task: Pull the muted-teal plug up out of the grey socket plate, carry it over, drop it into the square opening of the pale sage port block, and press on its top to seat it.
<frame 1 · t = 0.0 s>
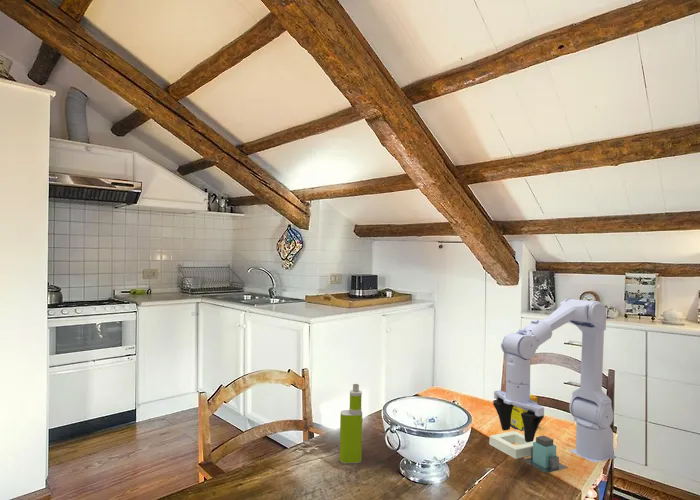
hand: (517, 435, 110), 10 cm above the table, tool pointing down, fingers open, 7 cm apart
plug: (544, 463, 115), point 1 cm above the table, touching grey socket plate
supplement box: (523, 429, 141), on the table
grey socket plate: (544, 465, 115), on the table
port: (515, 450, 124), on the table
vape: (350, 460, 116), on the table
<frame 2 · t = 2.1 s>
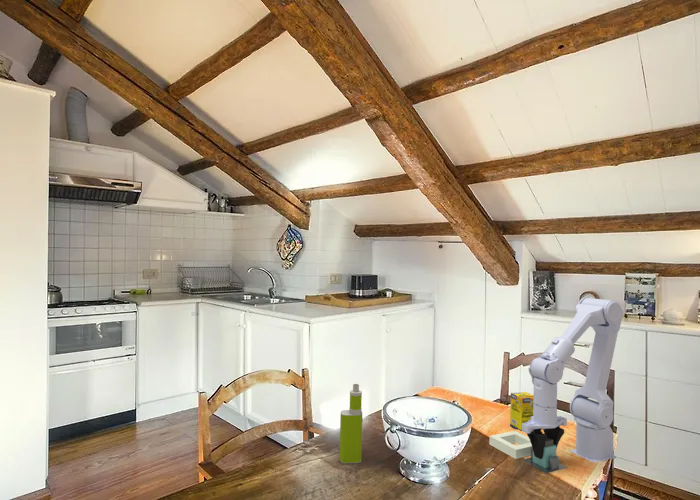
hand: (544, 455, 115), 3 cm above the table, tool pointing down, fingers closed on plug, 4 cm apart
plug: (544, 463, 115), point 1 cm above the table, touching gripper, grey socket plate
everything else where it was.
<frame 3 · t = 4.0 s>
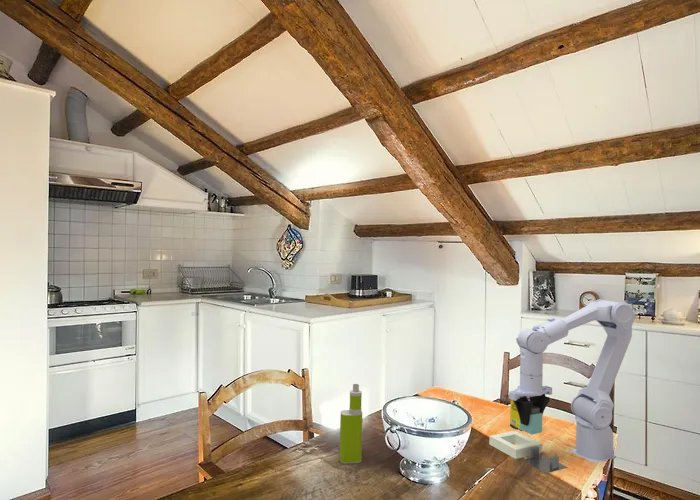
hand: (530, 423, 119), 10 cm above the table, tool pointing down, fingers closed on plug, 4 cm apart
plug: (530, 430, 119), point 8 cm above the table, touching gripper
everything else where it was.
when the fingers open (4 cm above the table, at t = 5.9 s): plug drops 2 cm, resting in port.
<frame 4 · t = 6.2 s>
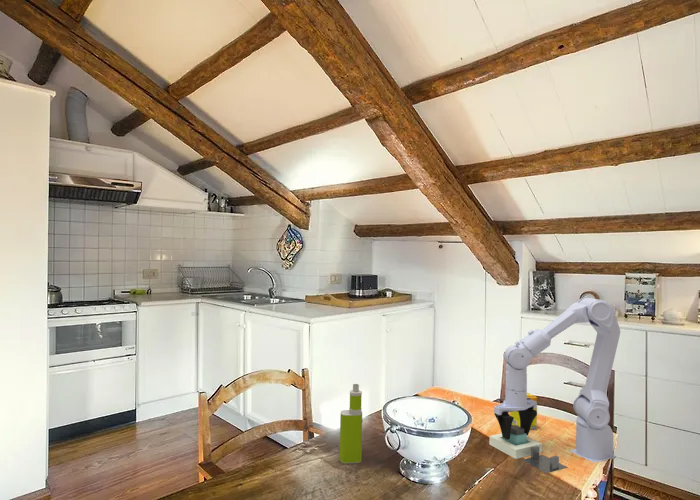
hand: (515, 436, 124), 4 cm above the table, tool pointing down, fingers open, 7 cm apart
plug: (515, 450, 124), resting in port
everything else where it was.
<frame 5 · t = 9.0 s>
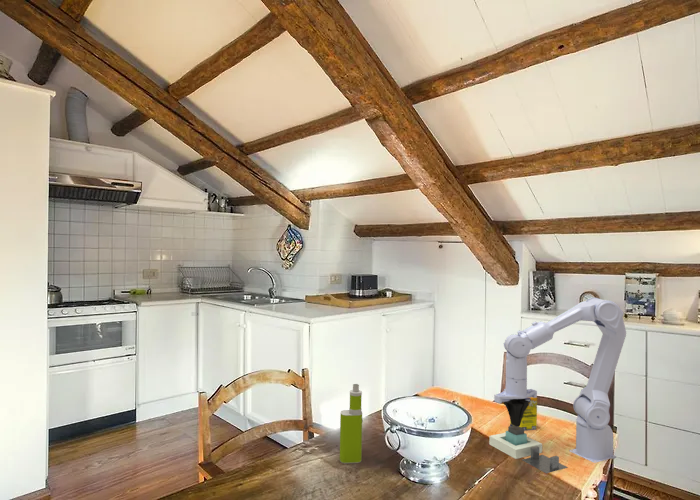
hand: (515, 425, 124), 7 cm above the table, tool pointing down, fingers closed
nothing on the table moved.
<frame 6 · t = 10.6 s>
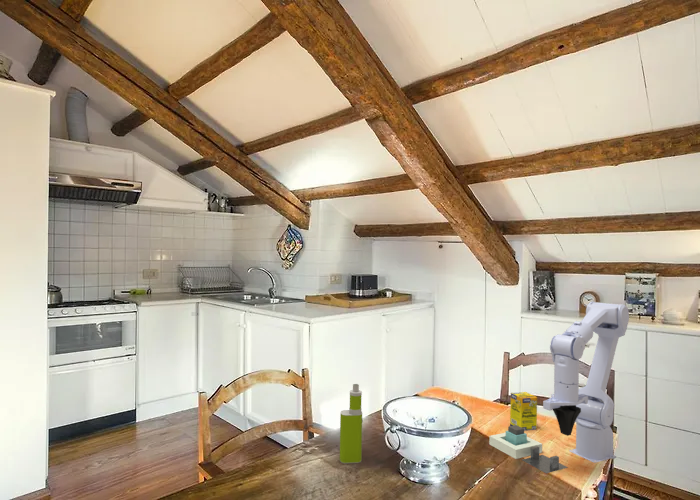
hand: (565, 434, 113), 9 cm above the table, tool pointing down, fingers closed
nothing on the table moved.
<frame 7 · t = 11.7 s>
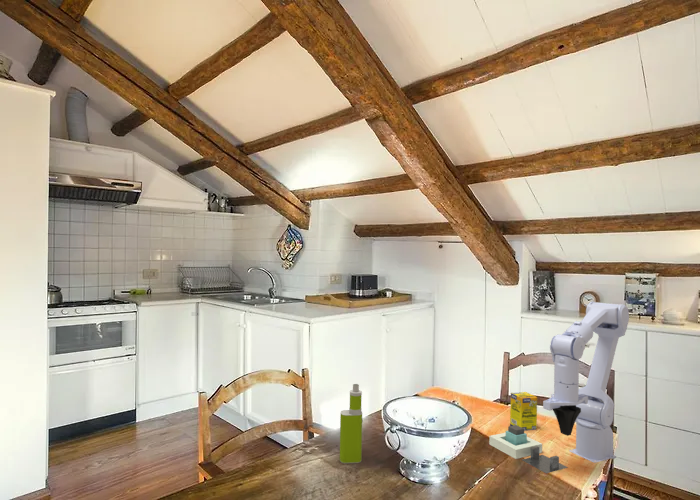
hand: (565, 434, 113), 9 cm above the table, tool pointing down, fingers closed
nothing on the table moved.
at the end: plug 0.2 cm off-centre on the port, point 0.0 cm above the port's base; plug tilted 0°; the gripper is holding nothing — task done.
